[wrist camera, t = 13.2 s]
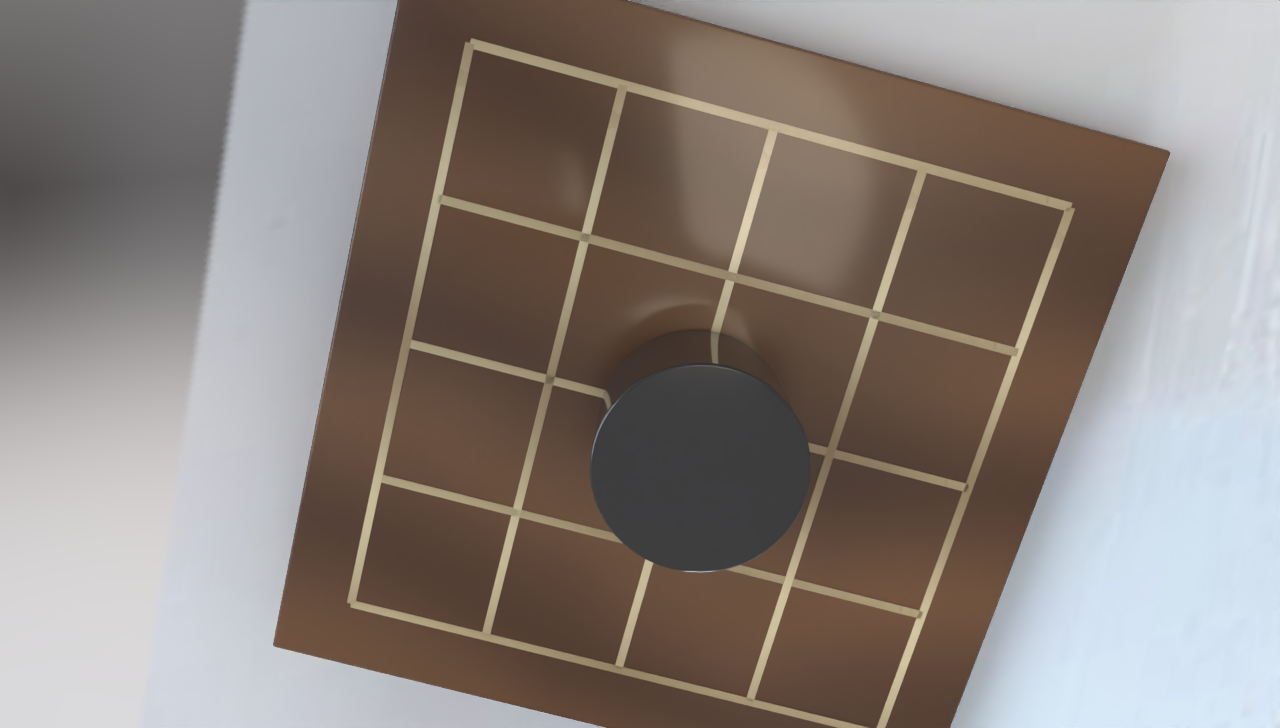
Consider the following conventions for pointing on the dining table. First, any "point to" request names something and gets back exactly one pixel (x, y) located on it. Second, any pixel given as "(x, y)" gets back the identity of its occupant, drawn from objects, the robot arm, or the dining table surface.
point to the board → (693, 300)
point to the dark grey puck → (698, 453)
